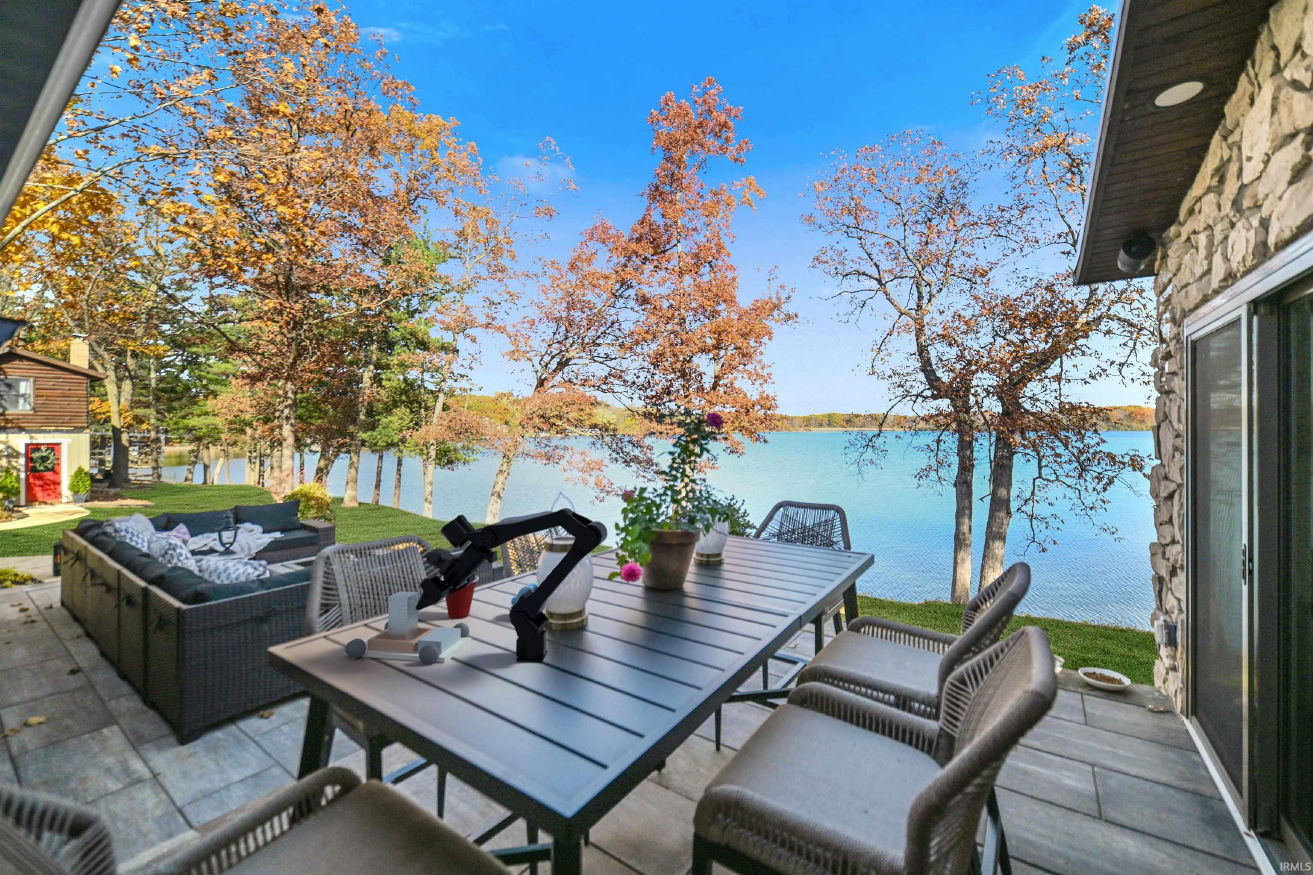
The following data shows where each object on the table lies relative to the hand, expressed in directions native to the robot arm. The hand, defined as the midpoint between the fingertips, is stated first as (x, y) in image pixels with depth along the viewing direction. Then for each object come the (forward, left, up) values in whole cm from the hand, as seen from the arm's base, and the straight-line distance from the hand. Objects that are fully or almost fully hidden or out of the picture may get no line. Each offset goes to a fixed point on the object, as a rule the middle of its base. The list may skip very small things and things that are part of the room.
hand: (426, 603), depth 143 cm
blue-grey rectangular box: (+6, -1, -10) cm, 12 cm away
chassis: (+4, -1, -12) cm, 12 cm away
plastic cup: (+1, -28, -12) cm, 30 cm away
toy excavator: (-23, -27, -12) cm, 37 cm away
